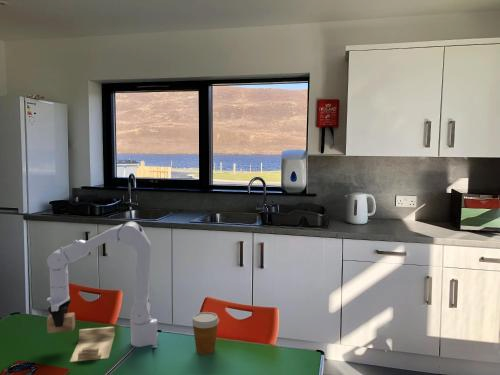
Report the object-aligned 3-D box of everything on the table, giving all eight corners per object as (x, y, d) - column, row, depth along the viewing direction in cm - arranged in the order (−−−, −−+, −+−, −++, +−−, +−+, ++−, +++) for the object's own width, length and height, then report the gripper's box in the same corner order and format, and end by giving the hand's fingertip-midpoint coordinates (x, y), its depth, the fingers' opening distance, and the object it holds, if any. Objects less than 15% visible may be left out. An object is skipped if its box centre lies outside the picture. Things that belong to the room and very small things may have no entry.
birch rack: (114, 338, 148) (114, 326, 147) (108, 360, 131) (108, 347, 131) (79, 341, 145) (79, 329, 145) (69, 364, 129) (69, 351, 129)
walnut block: (75, 326, 141) (74, 312, 140) (72, 331, 137) (72, 316, 136) (50, 328, 139) (50, 314, 139) (47, 333, 135) (46, 318, 135)
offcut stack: (101, 355, 133) (101, 345, 133) (100, 358, 131) (100, 348, 131) (79, 357, 131) (78, 348, 131) (77, 360, 130) (77, 350, 129)
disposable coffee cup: (186, 353, 137) (185, 319, 136) (201, 341, 145) (201, 309, 144) (209, 359, 132) (209, 324, 131) (224, 347, 141) (224, 314, 140)
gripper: (52, 279, 143) (53, 316, 144) (40, 293, 129) (41, 333, 130) (73, 278, 144) (74, 314, 145) (63, 291, 130) (65, 332, 131)
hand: (60, 323), depth 138 cm, fingers closed on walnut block, 4 cm apart
